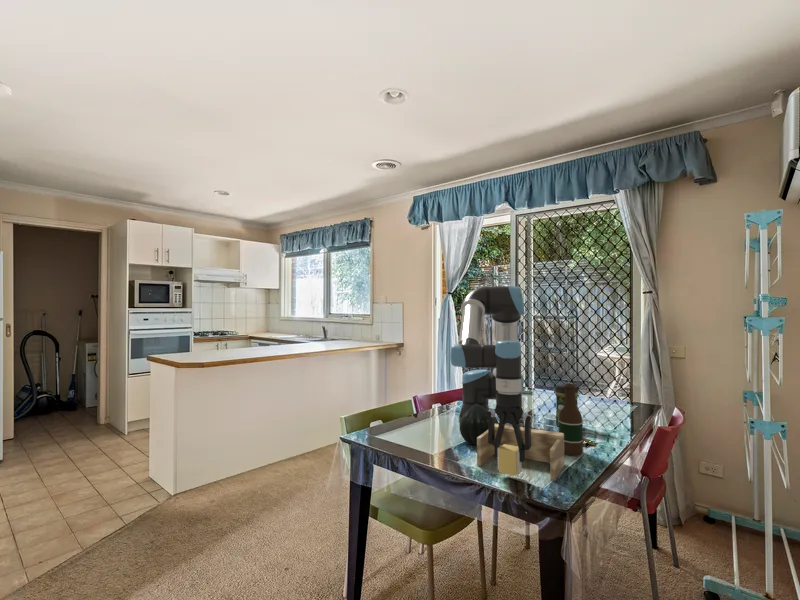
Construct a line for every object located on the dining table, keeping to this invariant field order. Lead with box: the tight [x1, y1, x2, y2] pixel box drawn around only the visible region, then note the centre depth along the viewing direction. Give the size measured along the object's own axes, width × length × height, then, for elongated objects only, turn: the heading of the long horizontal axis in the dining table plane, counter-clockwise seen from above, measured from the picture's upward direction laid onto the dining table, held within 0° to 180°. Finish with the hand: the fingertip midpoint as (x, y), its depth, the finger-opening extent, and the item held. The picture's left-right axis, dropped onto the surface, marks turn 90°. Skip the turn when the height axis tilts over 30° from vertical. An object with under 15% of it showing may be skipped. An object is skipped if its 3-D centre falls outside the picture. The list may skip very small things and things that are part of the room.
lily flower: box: [583, 431, 596, 448], centre depth 158 cm, size 12×12×5 cm
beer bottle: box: [558, 383, 584, 457], centre depth 147 cm, size 8×8×24 cm
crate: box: [476, 424, 565, 482], centre depth 135 cm, size 24×16×10 cm, turn 59°
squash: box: [459, 404, 499, 445], centre depth 159 cm, size 14×15×15 cm
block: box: [498, 444, 519, 477], centre depth 124 cm, size 5×5×7 cm
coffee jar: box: [554, 382, 579, 428], centre depth 181 cm, size 10×8×19 cm
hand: (509, 470), depth 124 cm, fingers closed on block, 5 cm apart
